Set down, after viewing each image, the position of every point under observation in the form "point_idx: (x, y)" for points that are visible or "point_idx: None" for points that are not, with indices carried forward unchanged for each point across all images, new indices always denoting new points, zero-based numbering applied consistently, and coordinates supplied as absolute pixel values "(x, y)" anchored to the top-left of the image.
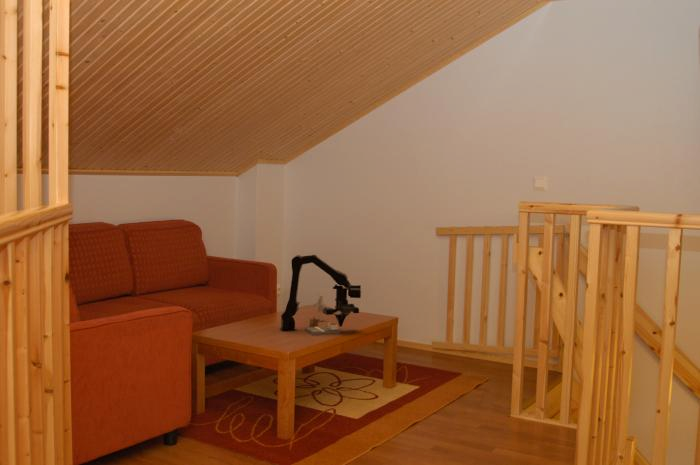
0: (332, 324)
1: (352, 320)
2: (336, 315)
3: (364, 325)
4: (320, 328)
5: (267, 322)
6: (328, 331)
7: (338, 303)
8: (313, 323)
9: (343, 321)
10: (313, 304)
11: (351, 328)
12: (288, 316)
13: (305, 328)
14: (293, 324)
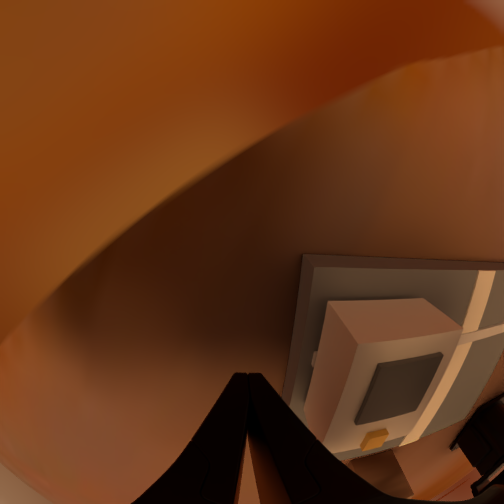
0: (438, 356)
1: (75, 488)
2: (497, 489)
3: (9, 407)
4: None
5: (424, 493)
6: (453, 268)
7: None
8: (394, 477)
9: (202, 429)
10: None
11: (84, 399)
12: None
13: (467, 409)
14: (487, 433)
